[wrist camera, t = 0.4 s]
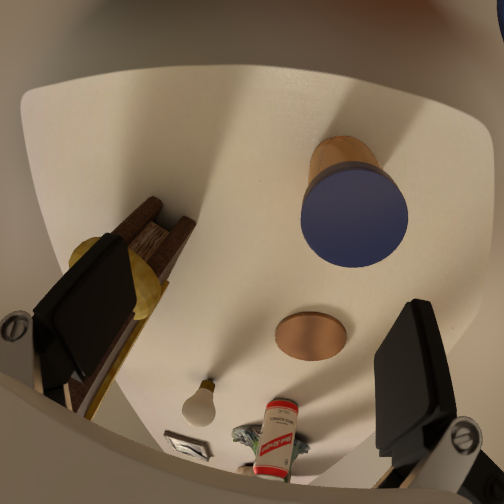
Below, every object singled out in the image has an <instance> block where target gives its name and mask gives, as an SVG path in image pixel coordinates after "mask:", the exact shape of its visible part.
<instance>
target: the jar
mask: <svg viewBox="0 0 504 504" xmlns="http://www.w3.org/2000/svg"><path fill="white" fill-rule="evenodd" d="M347 161H360V162H366V163H369V164H372V165H374V166H377V167H378V168H380V169H382V168H381V166H380V164H379V163H378V161H377V160H376V158H375V156H374V155H373V153H372V152H371V150H370V149H369V148H368V147H367V146H366V145H365V144H364V143H363V142H361V141H360V140H358V139H356V138H353V137H349V136H335V137H332V138H329V139H327V140H325V141H324V142H322V143H321V144H320V145H319V146H318V147H317V148H316V149H315V151H314V153H313V155H312V157H311V161H310V171H309V182H308V186H309V184H310V183H311V181H312V180H313V179H314V178H315V177H316V176H317V175H318V174H319V173H320V172H321V171H323V170H324V169H326V168H328V167H330V166H332V165H334V164H337V163H341V162H347ZM382 170H383V169H382Z"/></svg>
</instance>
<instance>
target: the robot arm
mask: <svg viewBox="0 0 504 504" xmlns="http://www.w3.org/2000/svg"><path fill="white" fill-rule="evenodd" d="M136 303H137V296H136V291H135V286H134V281H133V275H132V270H131V264H130V258H129V252H128V245H127V242H126V241H124V238H123V237H122V236H121V235H116V234H112V233H105V234H104V235H103V236H102V237H101V238H100V239H99V240H98V241H97V242H96V243H95V244H94V245H93V246H92V247H91V248H90V249H89V250H88V251H87V252H86V253H85V254H84V255H83V256H82V257H81V258H80V259H79V260H78V261H77V262H76V263H75V264H74V265H73V266H72V267H71V268H70V269H69V270H68V271H67V272H66V273H65V274H64V275H63V277H62V278H61V279H60V280H59V281H58V282H57V283H56V284H55V285H54V286H53V287H52V289H51V290H50V291H49V292H48V293H47V294H46V295H45V297H44V298H43V299H42V300H41V301H40V302H39V303H38V305H37V306H36V307H35V308H34V309H33V312H34V316H33V317H31V316H30V314H29V313H27V312H25V311H14V312H12V313H10V314H8V315H7V316H5V317H4V318H3V319H2V320H1V322H0V504H504V472H503V471H502V470H501V469H500V468H499V467H498V466H497V465H496V464H495V463H494V462H493V461H492V460H491V459H490V458H489V457H488V456H487V455H486V454H485V453H484V452H483V451H482V450H481V446H482V432H481V429H480V427H479V425H478V424H477V423H476V422H475V421H474V420H473V419H472V418H470V417H467V416H460V417H457V413H456V412H457V409H456V403H455V397H454V391H453V386H452V381H451V376H450V372H449V367H448V363H447V359H446V354H445V350H444V346H443V343H442V339H441V335H440V331H439V328H438V324H437V321H436V318H435V314H434V311H433V308H432V305H431V303H430V302H429V301H425V300H420V299H413V300H412V301H411V302H407V303H406V304H405V306H404V308H403V309H402V311H401V313H400V315H399V316H398V318H397V320H396V321H395V323H394V325H393V326H392V328H391V329H390V331H389V333H388V334H387V336H386V337H385V339H384V341H383V342H382V344H381V345H380V347H379V348H378V350H377V351H376V353H375V357H374V375H375V401H376V448H377V449H379V456H380V457H392V466H391V467H390V468H389V469H388V470H387V472H386V473H385V474H384V475H383V476H382V477H381V478H380V479H379V481H378V482H377V483H376V484H375V485H374V486H373V487H372V488H371V489H358V488H357V489H356V488H335V487H321V486H309V485H300V484H292V483H285V482H278V481H272V480H266V479H261V478H255V477H250V476H245V475H241V474H236V473H232V472H227V471H223V470H219V469H215V468H212V467H208V466H204V465H201V464H197V463H194V462H191V461H188V460H184V459H181V458H178V457H175V456H172V455H169V454H166V453H164V452H160V451H158V450H155V449H153V448H150V447H147V446H145V445H142V444H140V443H137V442H135V441H133V440H130V439H128V438H125V437H123V436H121V435H118V434H116V433H114V432H112V431H110V430H108V429H105V428H103V427H101V426H99V425H97V424H95V423H93V422H91V421H89V420H87V419H85V418H84V417H82V416H80V415H78V414H76V413H74V412H73V410H72V405H71V399H70V393H69V387H68V381H69V379H70V377H72V378H74V379H76V380H78V381H79V382H81V383H84V382H85V380H86V378H87V377H88V378H89V377H91V376H92V374H93V373H94V371H95V370H96V368H97V366H98V365H99V363H100V361H101V360H102V358H103V356H104V355H105V353H106V352H107V350H108V348H109V347H110V345H111V344H112V342H113V340H114V339H115V337H116V336H117V334H118V333H119V331H120V329H121V328H122V326H123V325H124V323H125V322H126V320H127V319H128V317H129V316H130V314H131V312H132V311H133V309H134V308H135V306H136Z"/></svg>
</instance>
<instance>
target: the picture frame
mask: <svg viewBox="0 0 504 504" xmlns="http://www.w3.org/2000/svg"><path fill="white" fill-rule="evenodd" d="M164 437H165V438H166V440H167V442H168V443H169V445H170V446H171V448H172V449H173V451H176V452H179V453H182V454H185V455H189V456H192V457H196V458H197V459H200V460H204V461H207V462H208V461H209V458H210V456H209V453H208V450H207V447H206V444H205V443H204V442H200V441H196V440H193V439H189V438H186V437H182V436H179V435H176V434H172V433H169V432H166V431H165V433H164Z"/></svg>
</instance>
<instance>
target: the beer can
mask: <svg viewBox="0 0 504 504" xmlns="http://www.w3.org/2000/svg"><path fill="white" fill-rule="evenodd" d="M297 417H298V407H297V406H296V404H295V403H294V402H292V401H290V400H286V399H275V400H273V401H271V402H270V403H268V405H267V406H266V411H265V415H264V420H263V425H262V429H261V434H260V439H259V443H258V448H257V452H256V456H255V461H254V465H253V470H254V472H255V475H254V477H255V478H261V479H266V480H272V481H278V482H282V481H284V477H285V476H286V475H287V474H288V472H289V467H290V461H291V455H292V449H293V443H294V437H295V431H296V424H297Z"/></svg>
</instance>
